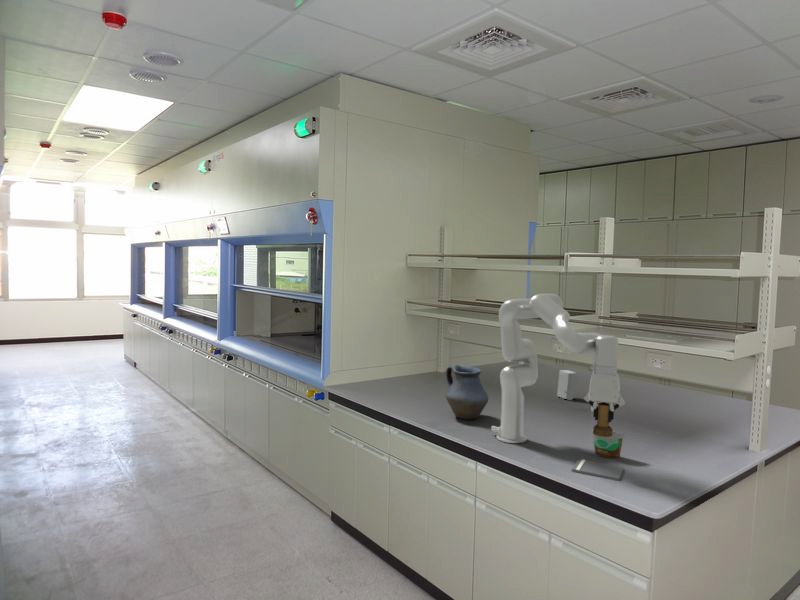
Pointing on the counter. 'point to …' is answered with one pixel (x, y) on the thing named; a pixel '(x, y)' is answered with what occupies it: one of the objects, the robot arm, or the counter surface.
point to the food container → (608, 445)
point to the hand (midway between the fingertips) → (603, 419)
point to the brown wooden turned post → (603, 421)
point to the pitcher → (465, 392)
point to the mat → (598, 469)
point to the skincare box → (567, 384)
